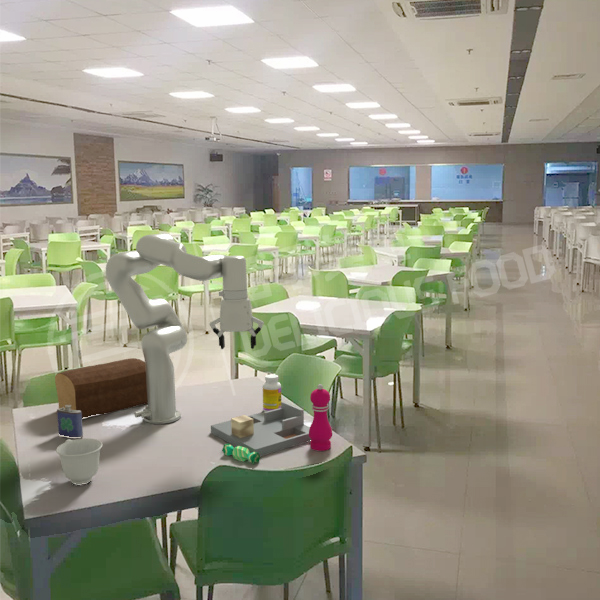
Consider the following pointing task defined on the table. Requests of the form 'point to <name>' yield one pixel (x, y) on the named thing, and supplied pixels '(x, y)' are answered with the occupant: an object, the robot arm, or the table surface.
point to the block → (242, 426)
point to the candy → (241, 453)
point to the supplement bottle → (271, 393)
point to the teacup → (80, 459)
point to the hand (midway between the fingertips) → (237, 348)
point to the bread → (103, 387)
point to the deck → (269, 430)
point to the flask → (69, 422)
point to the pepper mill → (320, 420)
